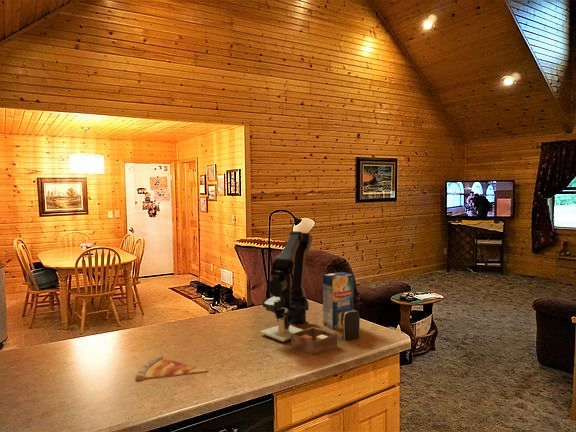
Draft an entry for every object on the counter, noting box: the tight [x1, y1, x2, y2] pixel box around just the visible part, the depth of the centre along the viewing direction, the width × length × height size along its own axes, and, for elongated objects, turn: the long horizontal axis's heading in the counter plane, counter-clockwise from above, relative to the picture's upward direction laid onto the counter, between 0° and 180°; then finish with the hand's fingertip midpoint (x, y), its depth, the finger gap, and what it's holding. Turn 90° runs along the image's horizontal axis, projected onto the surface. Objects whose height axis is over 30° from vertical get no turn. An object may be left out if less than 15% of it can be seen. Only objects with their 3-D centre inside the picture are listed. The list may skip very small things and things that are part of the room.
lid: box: [259, 317, 303, 342], centre depth 171 cm, size 13×13×6 cm
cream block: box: [316, 335, 328, 341], centre depth 160 cm, size 4×4×4 cm
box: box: [290, 326, 338, 356], centre depth 160 cm, size 12×12×5 cm
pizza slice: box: [135, 354, 209, 381], centre depth 138 cm, size 16×22×2 cm
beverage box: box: [322, 271, 355, 330], centre depth 183 cm, size 7×11×22 cm, turn 121°
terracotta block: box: [300, 335, 312, 340], centre depth 160 cm, size 4×4×4 cm
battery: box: [341, 309, 361, 342], centre depth 168 cm, size 7×4×11 cm, turn 118°
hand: (283, 328), depth 171 cm, fingers closed on lid, 3 cm apart
